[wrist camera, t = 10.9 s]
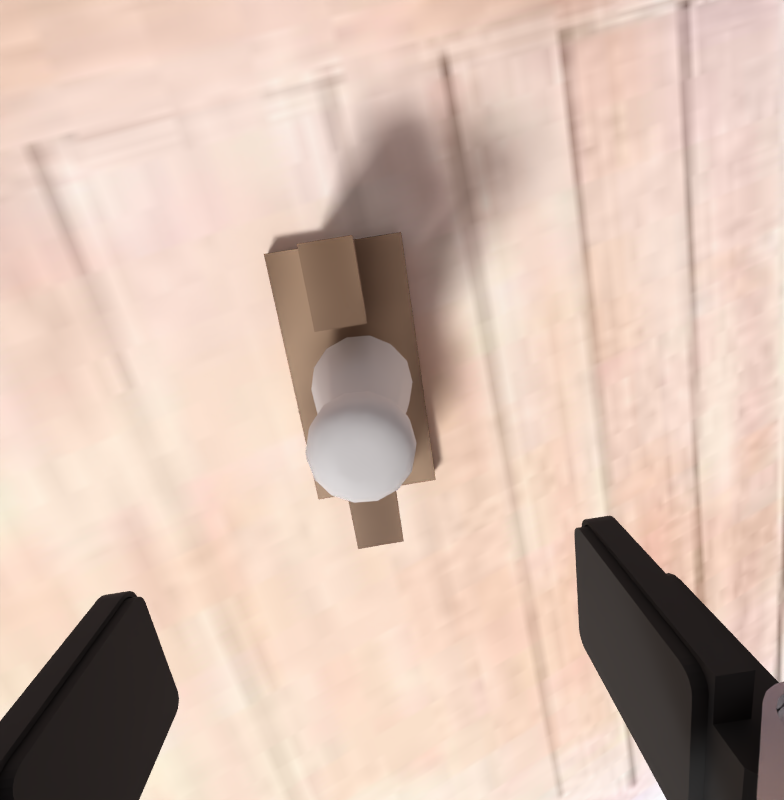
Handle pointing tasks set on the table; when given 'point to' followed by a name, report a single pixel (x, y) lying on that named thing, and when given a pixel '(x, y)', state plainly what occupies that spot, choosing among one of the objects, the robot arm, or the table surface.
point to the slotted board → (351, 317)
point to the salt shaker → (361, 420)
